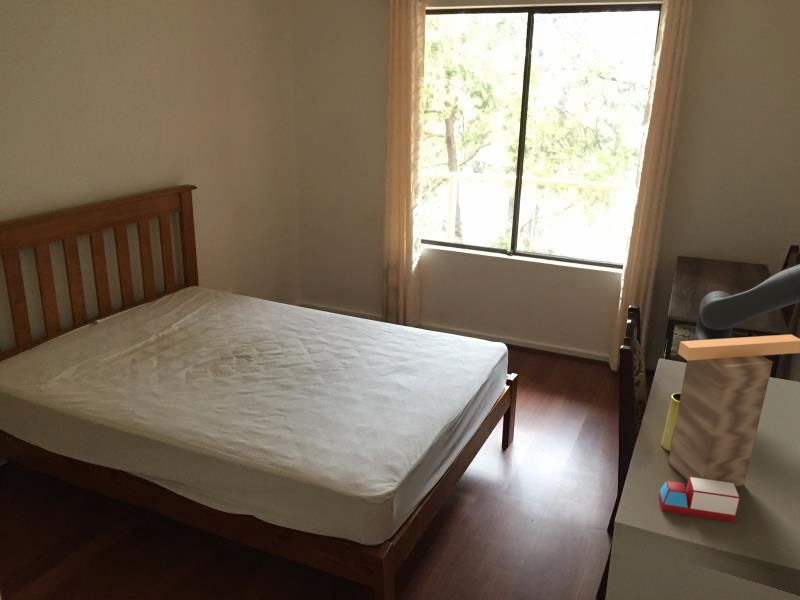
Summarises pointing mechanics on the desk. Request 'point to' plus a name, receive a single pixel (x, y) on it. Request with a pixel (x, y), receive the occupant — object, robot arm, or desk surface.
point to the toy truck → (701, 499)
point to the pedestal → (719, 417)
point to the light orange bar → (739, 347)
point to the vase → (671, 421)
